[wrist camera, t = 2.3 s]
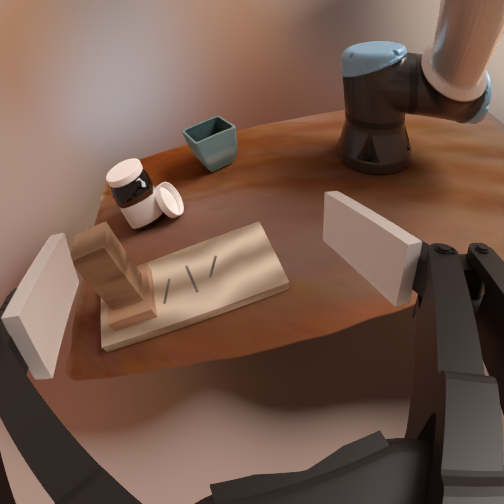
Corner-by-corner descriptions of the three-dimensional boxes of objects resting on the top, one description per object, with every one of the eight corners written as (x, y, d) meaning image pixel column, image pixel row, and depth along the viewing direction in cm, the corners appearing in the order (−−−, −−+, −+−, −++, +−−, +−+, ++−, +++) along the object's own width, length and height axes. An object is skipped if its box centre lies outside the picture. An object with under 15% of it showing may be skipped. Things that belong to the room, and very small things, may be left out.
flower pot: (227, 148, 72) (218, 114, 66) (245, 162, 66) (236, 125, 60) (193, 164, 70) (181, 130, 64) (208, 180, 65) (195, 143, 58)
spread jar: (125, 213, 64) (101, 169, 55) (172, 187, 66) (153, 141, 57) (138, 246, 56) (108, 198, 47) (192, 216, 58) (170, 164, 50)
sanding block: (113, 284, 49) (70, 228, 39) (151, 270, 49) (113, 208, 40) (115, 331, 43) (62, 276, 33) (157, 316, 43) (110, 256, 33)
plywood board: (105, 285, 51) (101, 280, 50) (260, 227, 53) (259, 221, 52) (106, 352, 42) (101, 347, 41) (290, 288, 44) (289, 281, 43)
